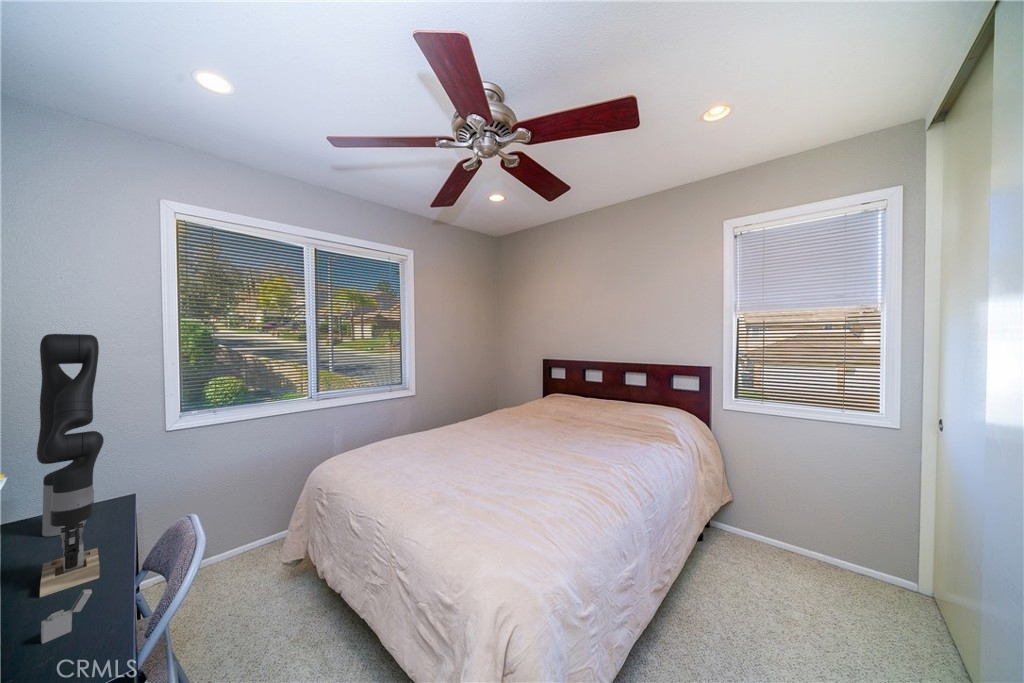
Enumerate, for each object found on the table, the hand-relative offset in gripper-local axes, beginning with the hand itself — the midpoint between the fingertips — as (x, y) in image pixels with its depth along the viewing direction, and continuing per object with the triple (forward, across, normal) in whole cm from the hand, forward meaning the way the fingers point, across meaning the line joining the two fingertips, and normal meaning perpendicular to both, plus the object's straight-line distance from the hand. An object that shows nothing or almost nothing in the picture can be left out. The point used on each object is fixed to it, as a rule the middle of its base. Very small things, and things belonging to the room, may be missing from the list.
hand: (71, 564), depth 98 cm
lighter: (+4, -27, 0) cm, 27 cm away
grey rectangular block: (+3, 0, 0) cm, 4 cm away
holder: (+4, +1, 0) cm, 4 cm away
